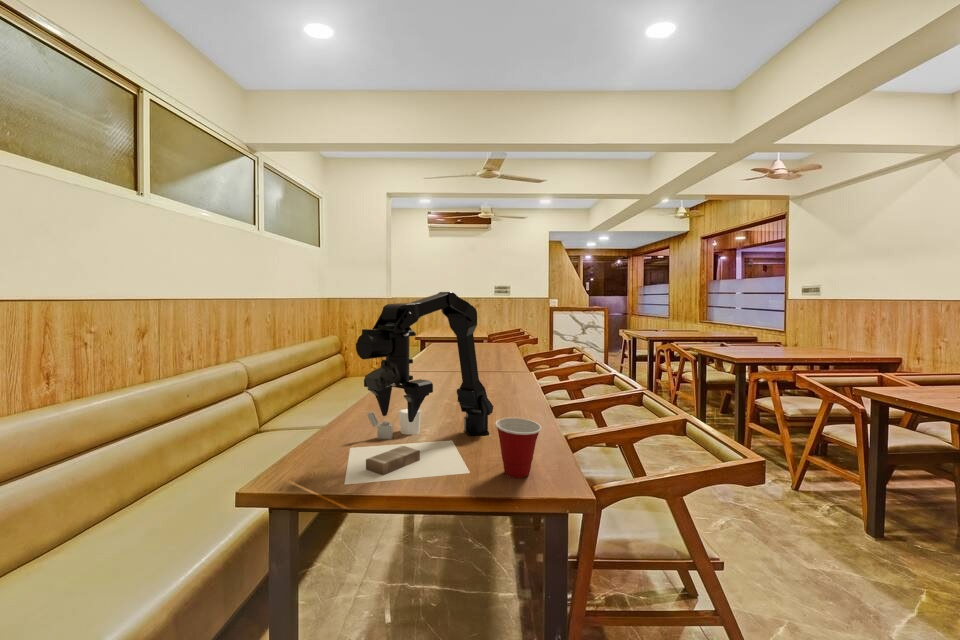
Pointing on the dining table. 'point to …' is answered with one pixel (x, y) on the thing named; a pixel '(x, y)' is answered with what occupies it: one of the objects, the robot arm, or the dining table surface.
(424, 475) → the mat
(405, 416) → the white cylinder
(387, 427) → the lighter
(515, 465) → the plastic cup
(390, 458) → the wood grain block
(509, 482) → the dining table surface
